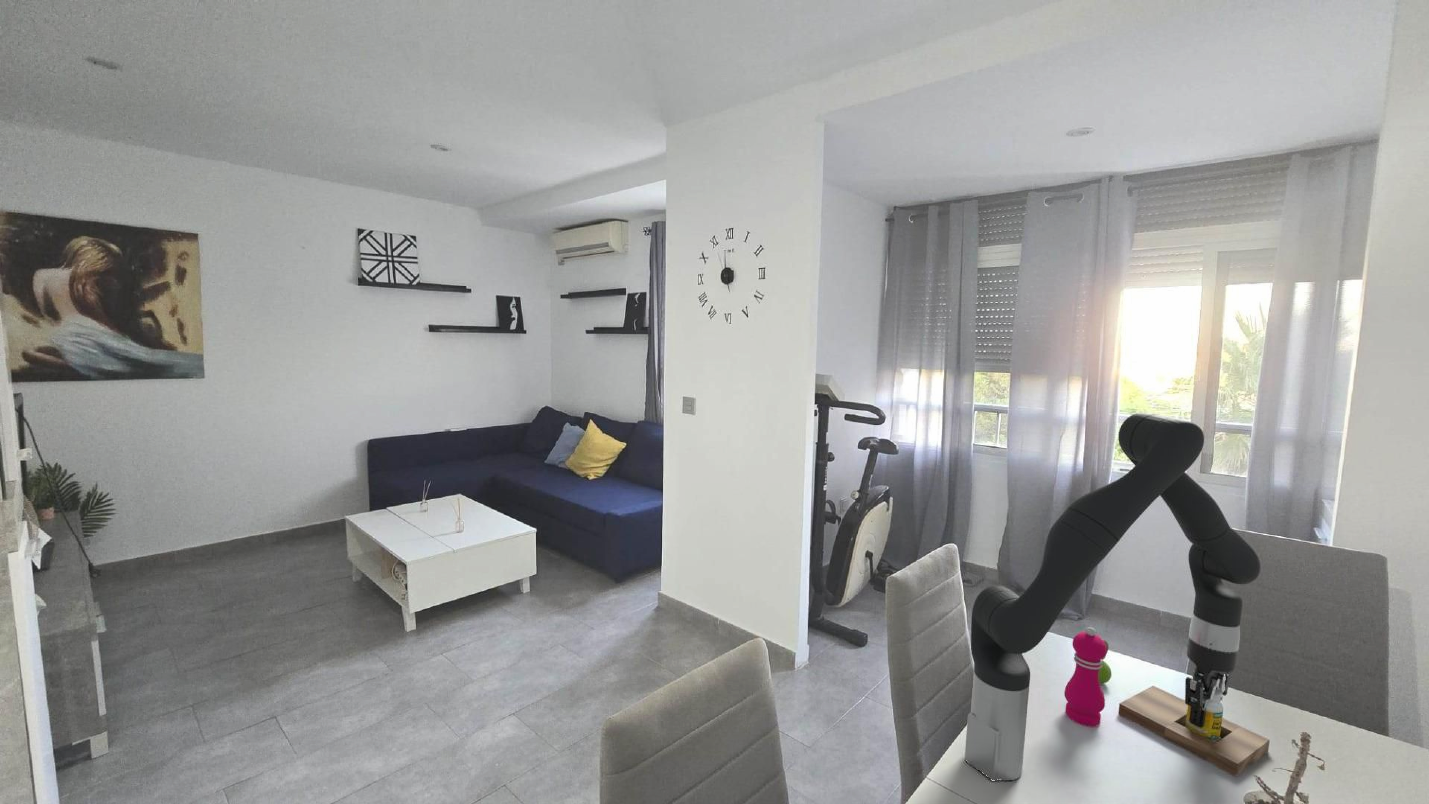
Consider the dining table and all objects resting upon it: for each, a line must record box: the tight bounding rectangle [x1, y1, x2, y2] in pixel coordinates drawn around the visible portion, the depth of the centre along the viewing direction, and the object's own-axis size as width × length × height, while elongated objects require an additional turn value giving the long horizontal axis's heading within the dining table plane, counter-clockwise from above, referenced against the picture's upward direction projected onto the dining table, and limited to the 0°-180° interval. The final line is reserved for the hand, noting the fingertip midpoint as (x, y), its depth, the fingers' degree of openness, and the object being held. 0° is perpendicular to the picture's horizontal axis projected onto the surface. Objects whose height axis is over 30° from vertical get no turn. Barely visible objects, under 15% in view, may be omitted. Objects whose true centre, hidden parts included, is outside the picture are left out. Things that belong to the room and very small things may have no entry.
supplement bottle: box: [1184, 689, 1224, 743], centre depth 117 cm, size 5×5×10 cm
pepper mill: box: [1064, 626, 1108, 728], centre depth 122 cm, size 7×7×20 cm
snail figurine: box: [1099, 638, 1112, 685], centre depth 136 cm, size 5×6×12 cm
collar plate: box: [1118, 685, 1270, 777], centre depth 119 cm, size 14×20×2 cm
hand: (1203, 720), depth 117 cm, fingers closed on supplement bottle, 5 cm apart
